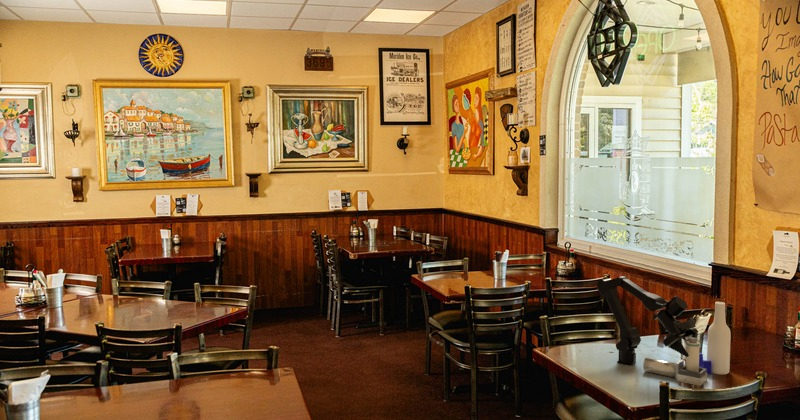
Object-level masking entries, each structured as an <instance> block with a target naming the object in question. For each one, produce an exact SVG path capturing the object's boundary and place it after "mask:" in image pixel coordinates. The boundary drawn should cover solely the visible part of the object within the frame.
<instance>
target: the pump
mask: <svg viewBox="0 0 800 420" xmlns="http://www.w3.org/2000/svg"><path fill="white" fill-rule="evenodd" d="M700 345H701V344H700V342H699V341H698V337H697V338H693V337H690V338H689V341H686V343H685V350H686V351H687V353H688V355H689V356H688V357H686V356H685V365H686V371H691V372H696V373H699V348H700Z"/></svg>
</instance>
